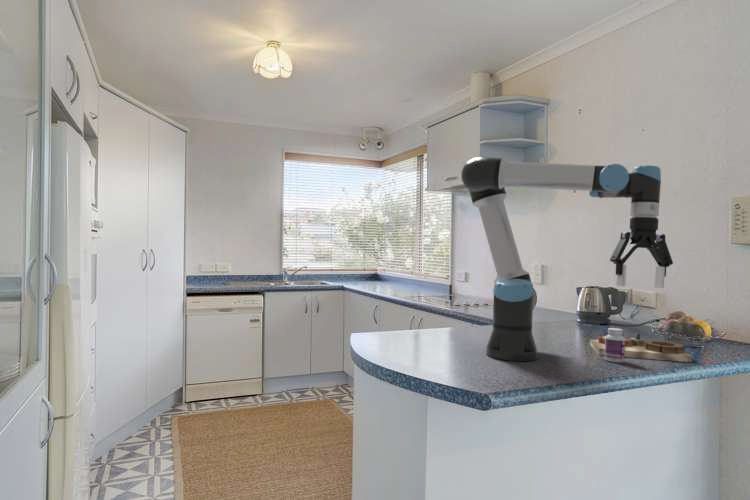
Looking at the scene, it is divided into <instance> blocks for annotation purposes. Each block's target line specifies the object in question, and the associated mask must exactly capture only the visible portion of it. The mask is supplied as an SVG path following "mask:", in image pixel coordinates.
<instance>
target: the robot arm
mask: <svg viewBox="0 0 750 500" xmlns="http://www.w3.org/2000/svg"><path fill="white" fill-rule="evenodd" d="M661 171H662V170H661V168H660V167H659V166H656V165H652V164H651V165H637V166H635V167H633V169H632V172H630V173H629V171H628V169H627V168H626V167H625V166H624V165H622V164H620V163H612V164H611V163H610V164H608V165H594V164H572V163H571V164H569V163H567V164H566V163H565V164H564V163H550V162H549V163H548V162H547V163H546V162H525V161H524V162H522V161H519V162H518V161H508V160H506V159H505V158H503V157H502V158H501V157H491V156H490V157H489V156H476V157H473V158H471V159H469V160H468V161H467V162H465V164H464V166H463V168H462V170H461V174H460V176H461V182H462V183H463V185H464V187H465V188H466V189H467V190H468V192H469V195H470V198H471V202H472V206H474V207H476V208H478V210H479V211H478V212H479V214H480V218H481V221H482V226H483V229H484V233H485V236H486V239H487V243H488V246H489V250H490V253H491V258H492V260H493V261H492V262H493V264H494V269H495V272H496V277H495V279H494V286H493V288H492V289H493V290H492V292H493V293H492V294H493V311H492V313H493V315H492V331H491V334H490V337H489V340H488V342H487V345H486V351H485V353H486V355H487V356H488V357H490V358H495V359H498V360H503V361H512V362H529V361H530V362H531V361H536V360H537V359H538V353H539V352H538V348H537V345H536V341H535V338H534V334H533V313H534V312H533V310H534V309H535V308H536V306H537V303H538V297H537V296H538V295H537V291H536V290H535V288H534V284H533V283H532V282H533V281H532V279H531V276H530V272H528V271H526V270H525V269H523V266H522V262H521V261H522V260H521V258H520V255H519V250H518V248H517V244H516V240H515V237H514V234H513V230H512V227H511V224H510V220H509V215H508V212H507V208H506V205H505V202H504V200H505V199H506V197H507V192H506V189H505V187H513V188H528V189H529V188H531V189H532V188H533V189H545V190H546V189H548V190H551V189H552V190H568V191H584V192H585V191H586V192H588V193H589V196H590V198H599V199H602V198H603V199H604V198H607V199H610V198H613V199H614V198H626V199H631V202H630V213H629V214H630V218H629V230H630V231H622V232H621V233H620V238H619V241H618V242H617V245H616V247H615V249H614V251H613V253H612V255H611V257H610V260H609V261H610V262H611V263H613V264H614V265H615V275H616V286H617V287H626V279H627V278H626V277H627V264H625V263H626V262H627V260H628V259H629V258H630V257H631V256H632V254H633V253H634V252H635V251H636V250H637V249H638V248H642V249H647V250H648V252H650V254H651V257H652V258H653V259H654V261H655V262H656V264H657V265H658V266H656V265H655V276H654V288H660V289H664V288H665V277H667V268H668V267H670V266H671V265H673V263H674V261H673V259H672V256H671V253H670V250H669V247H668V244H667V242H666V235H665V234H664V233H662V234H660V233H659V234H658V233H656V232H657V231H658V230H659V219H658V216H659V214H660V200H661V199H660V198H661V183H662V179H661V177H662V176H661V175H662V172H661Z"/></svg>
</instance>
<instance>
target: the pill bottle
mask: <svg viewBox="0 0 750 500" xmlns="http://www.w3.org/2000/svg"><path fill="white" fill-rule="evenodd" d="M607 333H608V334H606V335H605V336H606V337H605V355H604V360H605V361H607V362H610V363H619V364H620V363H624V362H625V357H624V354H625V338H626V337H625V336H623V333H624V330H623V329H622V328H618V327H617V328H613V327H609V328H607ZM624 337H625V338H624Z"/></svg>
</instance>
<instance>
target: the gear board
mask: <svg viewBox="0 0 750 500" xmlns="http://www.w3.org/2000/svg"><path fill="white" fill-rule="evenodd" d="M606 336H607V335H599V336H598V337H597V338H598V339H592V338H591V339H590V340H589V345H590V347H591V348H592V349H593V350H594V352H596V353H597V354H598V355H599V356H605V337H606ZM623 337H624V338H625V354H624V358H633V359H634V358H635V359H645V360H659V361H670V362H671V361H673V362H681V363H683V362H684V363H693V355H692V354H690V353H688V352H686V351H685V350H686V349H685V347H686V346H685V345H683V344H681V343H677V342H673V341H672V342H671V341H665V340H654V339H651V340H647V339H646V338H641V334H640V333H635V335H634V337H625V336H623Z"/></svg>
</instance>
